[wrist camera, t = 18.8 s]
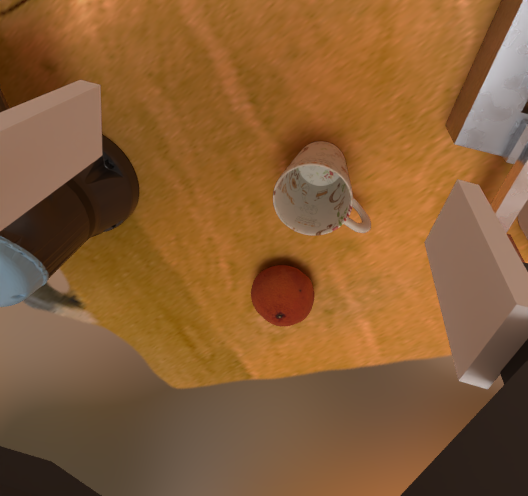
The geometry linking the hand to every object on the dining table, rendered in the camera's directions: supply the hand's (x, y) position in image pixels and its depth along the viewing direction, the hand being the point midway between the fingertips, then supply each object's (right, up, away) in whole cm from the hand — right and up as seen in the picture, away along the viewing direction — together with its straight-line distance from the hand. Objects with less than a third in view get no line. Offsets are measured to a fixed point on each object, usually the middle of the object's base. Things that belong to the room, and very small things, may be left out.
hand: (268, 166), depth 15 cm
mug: (+9, +6, +37) cm, 38 cm away
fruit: (+3, -8, +47) cm, 48 cm away
